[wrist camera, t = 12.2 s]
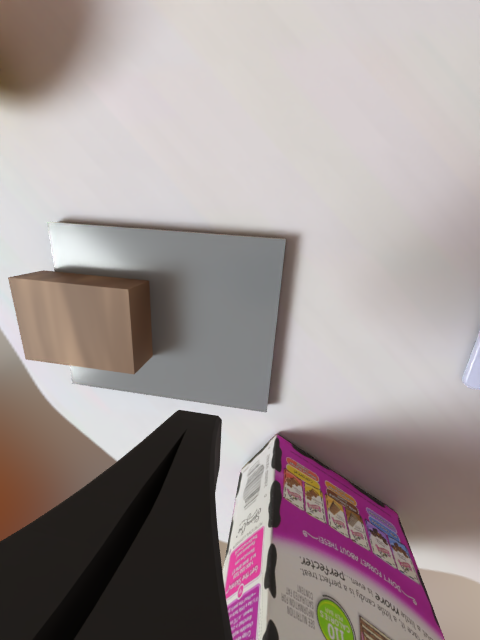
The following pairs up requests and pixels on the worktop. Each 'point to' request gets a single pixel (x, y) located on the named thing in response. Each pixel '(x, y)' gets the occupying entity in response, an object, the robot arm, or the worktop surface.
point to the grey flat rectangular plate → (188, 308)
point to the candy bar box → (318, 558)
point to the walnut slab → (84, 320)
